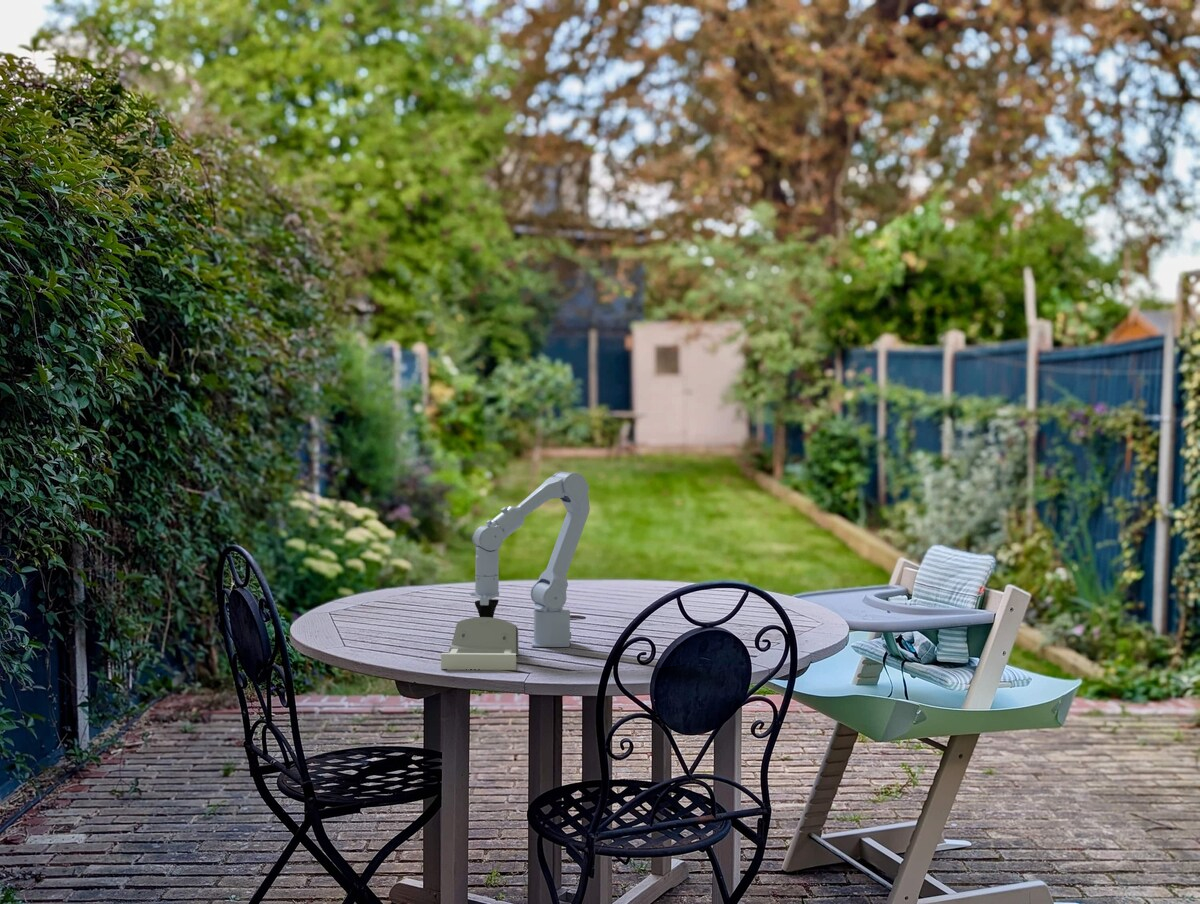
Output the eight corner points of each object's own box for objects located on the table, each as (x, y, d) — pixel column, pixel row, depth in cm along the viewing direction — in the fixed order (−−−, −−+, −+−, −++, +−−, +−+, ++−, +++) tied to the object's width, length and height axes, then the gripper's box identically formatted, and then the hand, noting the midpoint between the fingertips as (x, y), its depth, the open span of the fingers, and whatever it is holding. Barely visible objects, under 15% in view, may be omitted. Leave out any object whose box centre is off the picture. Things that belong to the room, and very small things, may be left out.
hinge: (446, 654, 272) (452, 613, 275) (453, 657, 276) (459, 617, 279) (512, 659, 267) (517, 617, 270) (518, 662, 272) (523, 620, 275)
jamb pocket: (517, 661, 265) (517, 647, 265) (515, 670, 257) (515, 654, 256) (445, 661, 265) (445, 646, 265) (440, 669, 256) (441, 654, 256)
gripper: (473, 570, 285) (473, 624, 286) (467, 578, 271) (467, 635, 271) (501, 570, 285) (501, 624, 286) (497, 579, 271) (496, 635, 271)
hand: (486, 629), depth 279 cm, fingers closed
